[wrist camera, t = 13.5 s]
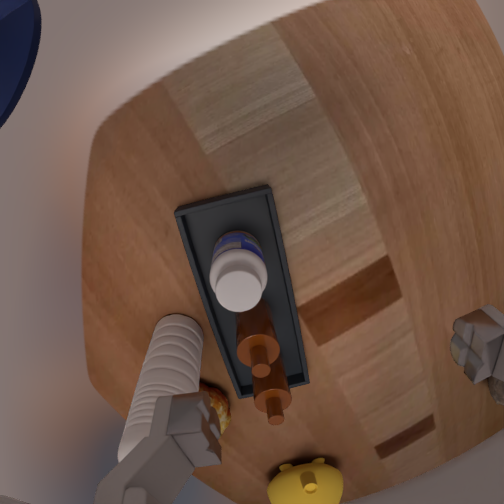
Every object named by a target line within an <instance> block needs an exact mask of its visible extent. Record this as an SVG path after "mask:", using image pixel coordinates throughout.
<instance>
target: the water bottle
mask: <svg viewBox="0 0 504 504" xmlns="http://www.w3.org/2000/svg"><path fill="white" fill-rule="evenodd" d="M202 349H203V332H202V329H201V327H200V326H199V325H198V324H197V322H196V321H194V320H193V319H192V318H190V317H187V316H183V315H180V314H172V315H170V316H165V317H163V318H162V319H161V320H160V321H159V322H158V323H157V325H156V327H155V329H154V332H153V335H152V339H151V341H150V345H149V348H148V351H147V354H146V357H145V360H144V363H143V367H142V370H141V372H140V376H139V380H138V382H137V385H136V389H135V393H134V397H133V400H132V403H131V407H130V410H129V414H128V417H127V421H126V424H125V428H124V432H123V435H122V438H121V441H120V445H119V449H118V461H119V462H120V461H121V460H122V459H123V458H124V457H125V456H126V455H127V454H128V453H129V452H130V451H131V450H132V449H133V448H134V447H135V446H136V445H137V444H138V443H139V442H140V441H141V440H142V439H143V438H144V437H149V434H150V428H151V423H152V418H153V413H154V409H155V404H156V400H157V398H158V397H159V396H169V395H176V394H185V393H193V392H198V391H199V379H200V369H201V358H202Z"/></svg>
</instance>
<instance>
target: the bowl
mask: <svg viewBox="0 0 504 504" xmlns="http://www.w3.org/2000/svg"><path fill="white" fill-rule="evenodd" d="M488 384H489V391H490V393H491V396H492V397H493V399H494V400H495V401H496V403H497V404H501V405H504V381H501V380H499V379H497V378H495V377H493V376H492V375H491V376H489V379H488Z"/></svg>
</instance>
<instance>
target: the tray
mask: <svg viewBox="0 0 504 504" xmlns="http://www.w3.org/2000/svg"><path fill="white" fill-rule="evenodd" d="M174 215H175V217H176V222H177V225H178V228H179V231H180V235H181V238H182V241H183V244H184V247H185V251H186V254H187V257H188V260H189V263H190V266H191V269H192V272H193V275H194V278H195V281H196V284H197V287H198V290H199V293H200V296H201V299H202V302H203V305H204V308H205V310H206V313H207V316H208V319H209V322H210V325H211V327H212V330H213V333H214V336H215V338H216V341H217V344H218V347H219V349H220V352H221V355H222V357H223V360H224V363H225V365H226V368H227V370H228V373H229V376H230V378H231V381H232V383H233V386H234V388H235V391H236V393H237V396H238V398H239V399H242V398H247V397H252V396H253V386H252V376H251V367H249V366H247V365H245V364H243V363H242V362H241V361H240V360H239V358H238V356H237V348H236V325H235V312H234V311H230V310H228V309H226V308H224V307H223V306H222V305H221V304H220V303H219V301H218V300H217V297H216V294H215V292H214V291H213V289H212V287H211V284H210V269H211V263H212V257H213V251H214V247H215V244H216V242H217V241H218V239H219V238H220V237H221V236H223V235H224V234H226V233H228V232H231V231H244V232H247V233H249V234H251V235H252V236H254V237H255V238H256V239H257V241H258V242H259V244H260V246H261V250H262V254H263V258H264V262H265V266H266V270H267V284H266V287H265V289H264V291H263V292H262V295H261V298H263V299H264V300H266V301H267V302H268V304H269V305H270V308H271V312H272V316H273V320H274V325H275V329H276V333H277V338H278V342H279V346H280V353H281V355H282V358H283V362H284V367H285V371H286V375H287V379H288V384H289V388H293V387H297V386H301V385H305V384H309V383H310V381H309V375H308V370H307V364H306V358H305V353H304V347H303V342H302V336H301V331H300V326H299V320H298V315H297V310H296V305H295V300H294V295H293V289H292V284H291V279H290V274H289V269H288V264H287V260H286V255H285V250H284V245H283V240H282V236H281V231H280V226H279V221H278V217H277V212H276V208H275V203H274V198H273V194H272V189H271V187H270V186H269V185H268V184H266V185H262V186H258V187H253V188H249V189H245V190H241V191H237V192H233V193H229V194H225V195H221V196H217V197H213V198H209V199H205V200H201V201H198V202H194V203H190V204H186V205H183V206H179V207H177V209H176V210H175V211H174Z"/></svg>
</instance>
